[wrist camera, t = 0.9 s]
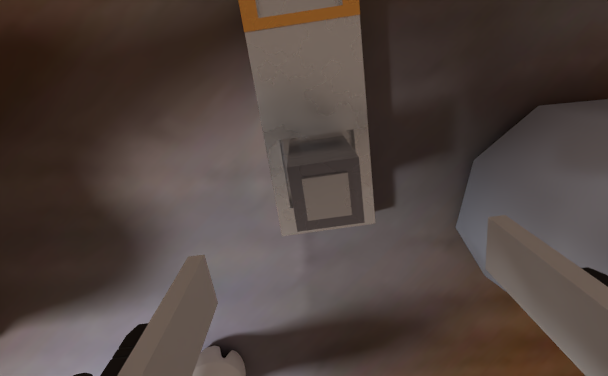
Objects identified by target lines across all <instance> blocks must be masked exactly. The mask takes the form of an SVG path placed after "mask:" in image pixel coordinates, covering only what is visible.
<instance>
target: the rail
mask: <svg viewBox="0 0 608 376" xmlns="http://www.w3.org/2000/svg"><path fill="white" fill-rule="evenodd" d="M238 1H239V7H240V12H241V18H242V23H243V29H244V32H245V38H246V43H247V48H248V54H249V59H250V65H251V70H252V76H253V81H254V86H255V92H256V97H257V103H258V108H259V114H260V119H261V124H262V130H263V135H264V141H265V146H266V152H267V157H268V163H269V168H270V173H271V179H272V184H273V190H274V195H275V201H276V206H277V211H278V217H279V222H280V228H281V233H282V236H287V235H294V234H302V233H309V232H316V231H324V230H331V229H338V228H346V227H353V226H361V225H368V224H375V212H374V199H373V185H372V172H371V159H370V145H369V132H368V119H367V105H366V92H365V79H364V65H363V52H362V38H361V25H360V5H359V0H238ZM336 136H344V137H345V138H346V140H347V141H348V143H349V144H350V145H351V147H352V148H353V150H354V151H355V152H356V154H357V155H358V157H359V163H360V175H361V186H362V198H363V209H364V221H365V223H358V224H351V225H344V226H336V227H329V228H322V229H314V230H307V231H300V232H297V226H296V220H295V214H294V208H293V202H292V196H291V190H290V184H289V178H288V172H287V160H288V151H289V143H295V142H302V141H309V140H316V139H323V138H330V137H336Z"/></svg>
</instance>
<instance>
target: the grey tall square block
mask: <svg viewBox="0 0 608 376" xmlns="http://www.w3.org/2000/svg"><path fill="white" fill-rule="evenodd" d="M287 172H288V178H289V184H290V190H291V196H292V202H293V208H294V214H295V220H296V226H297V232H300V231H307V230H314V229H322V228H329V227H336V226H344V225H351V224H358V223H365V221H364V209H363V198H362V186H361V175H360V163H359V157H358V155H357V154H356V152H355V151H354V150H353V148H352V147H351V145H350V144H349V143H348V141H347V140H346V138H345V137H344V136H336V137H330V138H323V139H316V140H309V141H302V142H295V143H289V151H288V160H287Z"/></svg>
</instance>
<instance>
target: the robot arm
mask: <svg viewBox="0 0 608 376" xmlns="http://www.w3.org/2000/svg"><path fill="white" fill-rule="evenodd" d="M485 269H486V270H487V271H488V272H489V273H490V274H491V275H492V276H493V278H494V279H495V280H496V281H497V282H498V283H499V284H500V285H501V286H502V287H503V288H504V289H505V290H506V291H507V292H508V294H509V295H510V296H511V297H512V298H513V299H514V300H515V301H516V302H517V303H518V304H519V305H520V306H521V307H522V308H523V309H524V311H525V312H526V313H527V314H528V315H529V316H530V317H531V318H532V319H533V320H534V321H535V322H536V323H537V324H538V325H539V327H540V328H541V329H542V330H543V331H544V332H545V333H546V334H547V335H548V336H549V337H550V338H551V339H552V340H553V341H554V343H555V344H556V345H557V346H558V347H559V348H560V349H561V350H562V351H563V352H564V353H565V354H566V355H567V356H568V357H569V359H570V360H571V361H572V362H573V363H574V364H575V365H576V366H577V367H578V368H579V369H580V370H581V371H582V372H583V373H584V374H585V376H608V275H606V274H603V273H601V272H599V271H596V270H594V269H591V268H589V267H585V268H580V267H579V266H577V265H576V264H574V263H573V262H572V261H570V260H569V259H567V258H566V257H565V256H563V255H562V254H560V253H559V252H557V251H556V250H555V249H553V248H552V247H550V246H549V245H547V244H546V243H545V242H543V241H542V240H540V239H539V238H537V237H536V236H535V235H533V234H532V233H530V232H529V231H527V230H526V229H525V228H523V227H522V226H520V225H519V224H517V223H516V222H515V221H513V220H512V219H510V218H509V217H507V216H506V215H501V216H493V217H488V228H487V247H486V266H485ZM217 304H218V302H217V298H216V294H215V291H214V287H213V284H212V280H211V277H210V273H209V269H208V266H207V262H206V259H205V255H198V256H191V257H188V258H187V260H186V262H185V263H184V265H183V267H182V268H181V270H180V272H179V273H178V275H177V277H176V278H175V280H174V282H173V283H172V285H171V287H170V288H169V290H168V292H167V293H166V295H165V297H164V298H163V300H162V302H161V303H160V305H159V307H158V309H157V310H156V312H155V314H154V315H153V317H152V319H151V320H150V322H149V323H147V324H139V325H138V326H136V327H135V328H134V329H133V330H132V331H131V332H130V333H129V334H128V335H127V336H126V337H125V339H124V340H123V342H122V343H121V345H120V346H119V350H117V351H116V353H115V354H114V356H113V359H112V360H110V362H109V363H108V365H107V366H106V368H105V369H104V371H103V372H102V374H101V376H192V375H193V372H194V369H195V366H196V364H197V361H198V358H199V355H200V352H201V349H202V346H203V344H204V341H205V338H206V335H207V332H208V329H209V327H210V324H211V321H212V318H213V315H214V312H215V309H216V307H217ZM73 376H93V375H92V374H89V373H81V374H76V375H73Z"/></svg>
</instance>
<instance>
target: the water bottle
mask: <svg viewBox="0 0 608 376" xmlns="http://www.w3.org/2000/svg"><path fill="white" fill-rule="evenodd" d="M192 376H246V371H245V365H244V362H243V360H242V358H241V356H240V355H239V354H238V353H237V352H236V351H234V350H231V351H230V352H229V353H228V355H227V356H226V357H225V358H222V356H221V352H220V347H219V346H211V347H207V348H206V349H204V350H203V351H202V352H201V353H200V355H199V358H198V361H197V364H196V366H195V369H194V372H193V375H192Z"/></svg>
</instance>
